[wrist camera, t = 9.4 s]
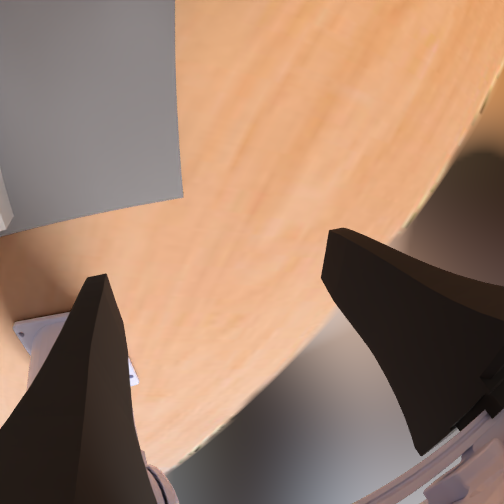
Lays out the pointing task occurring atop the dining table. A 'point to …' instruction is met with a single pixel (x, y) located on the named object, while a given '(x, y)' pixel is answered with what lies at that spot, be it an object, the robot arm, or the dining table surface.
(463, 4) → the dining table surface
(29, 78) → the grey ridged board
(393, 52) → the dining table surface
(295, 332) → the dining table surface
